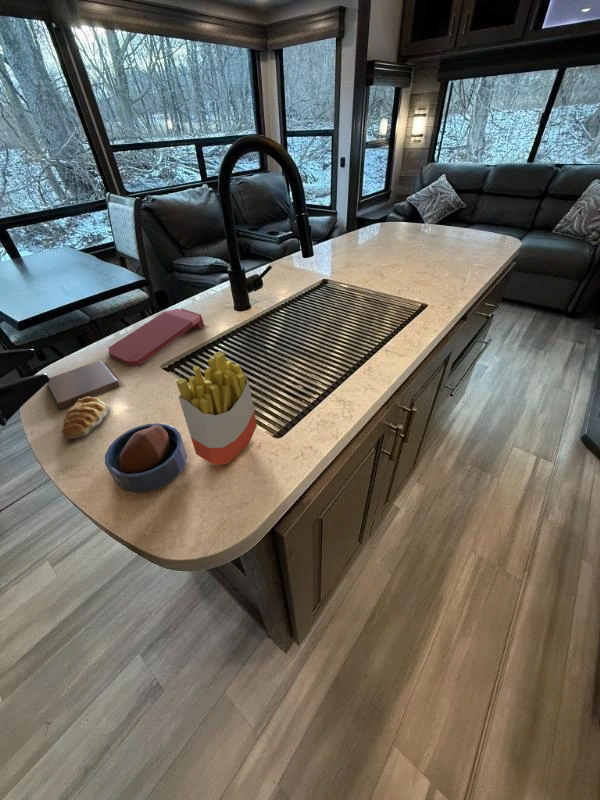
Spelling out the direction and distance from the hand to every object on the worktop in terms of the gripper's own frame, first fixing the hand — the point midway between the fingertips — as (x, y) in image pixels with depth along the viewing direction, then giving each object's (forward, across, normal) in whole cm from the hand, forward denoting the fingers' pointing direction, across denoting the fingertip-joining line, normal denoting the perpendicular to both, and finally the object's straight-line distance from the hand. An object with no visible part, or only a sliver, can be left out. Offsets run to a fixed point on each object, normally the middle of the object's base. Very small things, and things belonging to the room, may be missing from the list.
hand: (41, 363), depth 49 cm
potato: (+7, -11, +18) cm, 22 cm away
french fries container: (+19, -17, +19) cm, 31 cm away
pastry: (+2, +9, +19) cm, 21 cm away
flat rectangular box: (+5, +23, +18) cm, 30 cm away
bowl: (+7, -11, +18) cm, 23 cm away
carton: (+27, +31, +19) cm, 45 cm away
